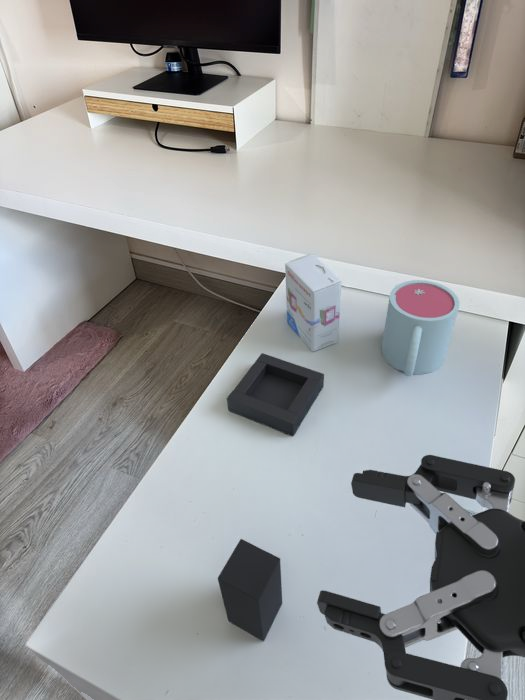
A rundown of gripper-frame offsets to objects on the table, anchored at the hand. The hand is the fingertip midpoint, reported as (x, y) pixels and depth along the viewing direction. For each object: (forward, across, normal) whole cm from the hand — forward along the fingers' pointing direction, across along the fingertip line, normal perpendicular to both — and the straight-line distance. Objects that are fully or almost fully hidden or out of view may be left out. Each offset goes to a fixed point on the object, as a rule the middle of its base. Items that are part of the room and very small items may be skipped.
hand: (337, 538), depth 34 cm
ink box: (+18, -42, +20) cm, 49 cm away
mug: (+2, -40, +22) cm, 45 cm away
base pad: (+18, -27, +19) cm, 37 cm away
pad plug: (+10, 0, +19) cm, 22 cm away
